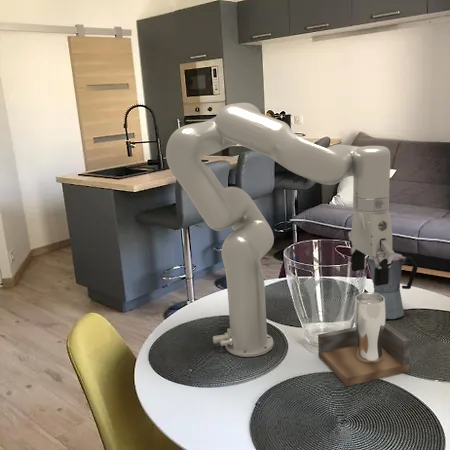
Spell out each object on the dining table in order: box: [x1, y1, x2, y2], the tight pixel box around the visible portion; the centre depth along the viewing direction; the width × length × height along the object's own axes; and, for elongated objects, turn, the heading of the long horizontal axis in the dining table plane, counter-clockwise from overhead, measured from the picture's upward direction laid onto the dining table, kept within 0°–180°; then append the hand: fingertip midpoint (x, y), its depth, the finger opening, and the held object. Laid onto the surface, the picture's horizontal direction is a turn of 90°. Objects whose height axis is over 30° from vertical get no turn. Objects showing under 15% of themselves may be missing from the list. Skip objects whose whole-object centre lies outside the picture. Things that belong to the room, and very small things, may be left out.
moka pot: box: [367, 252, 418, 320], centre depth 144 cm, size 10×15×20 cm, turn 54°
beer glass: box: [353, 292, 386, 363], centre depth 119 cm, size 7×7×15 cm
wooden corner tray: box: [317, 321, 411, 387], centre depth 121 cm, size 16×14×8 cm
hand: (369, 277), depth 115 cm, fingers open, 9 cm apart
